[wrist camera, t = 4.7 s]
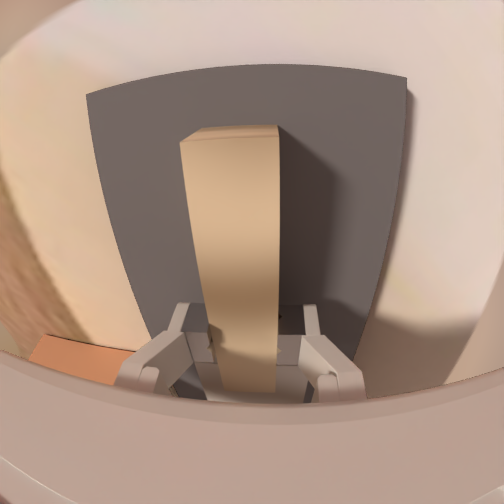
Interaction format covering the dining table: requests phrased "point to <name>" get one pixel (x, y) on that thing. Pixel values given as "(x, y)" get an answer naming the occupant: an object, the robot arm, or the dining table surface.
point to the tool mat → (291, 184)
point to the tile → (79, 358)
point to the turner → (239, 261)
